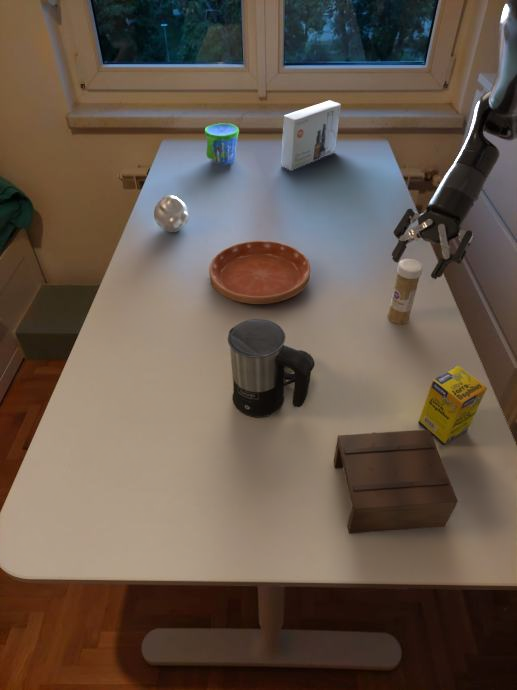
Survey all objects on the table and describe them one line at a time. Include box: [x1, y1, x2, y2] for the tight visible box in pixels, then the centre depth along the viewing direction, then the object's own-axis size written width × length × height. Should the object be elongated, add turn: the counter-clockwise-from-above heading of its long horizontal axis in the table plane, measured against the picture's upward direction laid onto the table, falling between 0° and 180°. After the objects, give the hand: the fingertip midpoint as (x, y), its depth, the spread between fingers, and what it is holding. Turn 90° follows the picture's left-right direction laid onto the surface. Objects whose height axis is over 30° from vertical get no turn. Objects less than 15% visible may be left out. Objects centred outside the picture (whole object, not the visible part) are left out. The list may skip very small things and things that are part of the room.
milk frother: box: [227, 318, 315, 418], centre depth 87 cm, size 14×16×15 cm
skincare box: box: [280, 100, 342, 171], centre depth 159 cm, size 21×5×16 cm, turn 132°
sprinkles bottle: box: [387, 258, 424, 325], centre depth 101 cm, size 5×5×13 cm
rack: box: [333, 429, 459, 535], centre depth 73 cm, size 14×12×7 cm
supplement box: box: [417, 365, 488, 447], centre depth 81 cm, size 6×6×11 cm
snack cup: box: [204, 122, 240, 165], centre depth 161 cm, size 16×10×10 cm
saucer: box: [208, 240, 311, 305], centre depth 115 cm, size 23×23×4 cm
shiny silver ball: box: [153, 195, 190, 233], centre depth 129 cm, size 9×9×10 cm
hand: (413, 269), depth 99 cm, fingers open, 8 cm apart
